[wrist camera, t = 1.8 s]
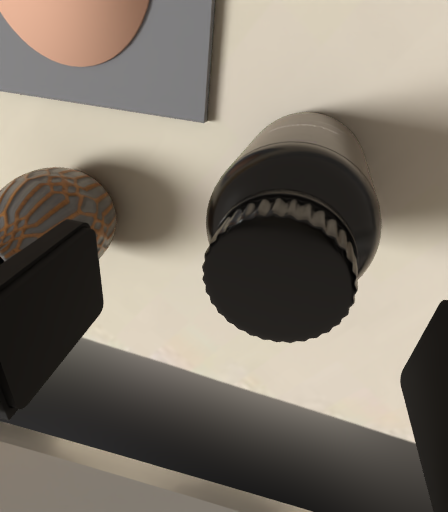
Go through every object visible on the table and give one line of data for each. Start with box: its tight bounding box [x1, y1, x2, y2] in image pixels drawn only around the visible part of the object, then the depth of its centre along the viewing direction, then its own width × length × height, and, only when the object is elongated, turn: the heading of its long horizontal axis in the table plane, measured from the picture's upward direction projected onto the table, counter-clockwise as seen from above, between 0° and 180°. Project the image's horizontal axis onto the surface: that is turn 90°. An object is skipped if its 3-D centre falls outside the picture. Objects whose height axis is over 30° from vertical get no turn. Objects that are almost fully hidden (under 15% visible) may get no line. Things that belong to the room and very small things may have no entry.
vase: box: [0, 167, 116, 265], centre depth 22 cm, size 7×7×9 cm
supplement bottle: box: [202, 112, 381, 343], centre depth 16 cm, size 7×7×12 cm
